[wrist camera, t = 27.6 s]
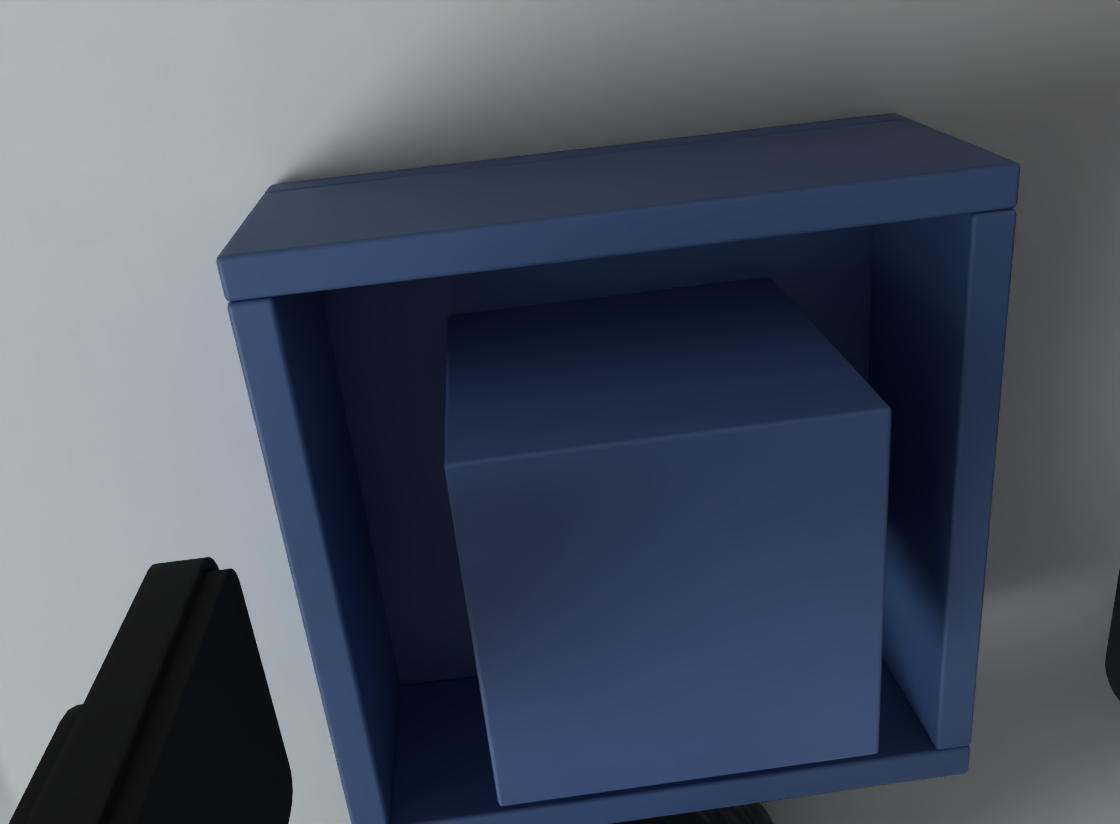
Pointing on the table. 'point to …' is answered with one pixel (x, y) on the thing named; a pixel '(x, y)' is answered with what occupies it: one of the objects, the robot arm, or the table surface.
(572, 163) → the blue bin
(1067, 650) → the table surface
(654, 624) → the blue block
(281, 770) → the robot arm
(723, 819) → the travel mug
